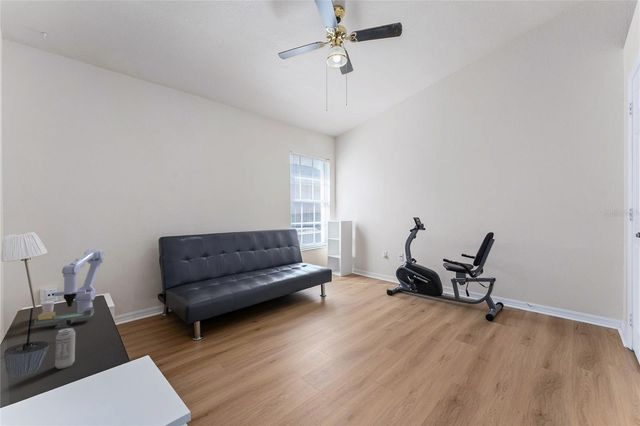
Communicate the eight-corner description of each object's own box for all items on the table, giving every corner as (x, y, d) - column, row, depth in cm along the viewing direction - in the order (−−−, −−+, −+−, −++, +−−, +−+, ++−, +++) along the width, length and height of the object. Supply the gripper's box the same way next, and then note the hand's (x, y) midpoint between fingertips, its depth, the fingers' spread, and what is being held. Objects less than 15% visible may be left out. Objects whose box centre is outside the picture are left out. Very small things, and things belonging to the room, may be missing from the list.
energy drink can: (78, 361, 118) (79, 327, 118) (65, 369, 112) (66, 332, 112) (64, 362, 117) (65, 327, 118) (50, 369, 111) (52, 333, 112)
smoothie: (38, 318, 174) (39, 296, 175) (52, 315, 180) (52, 294, 180) (42, 319, 171) (43, 297, 172) (56, 316, 177) (56, 295, 177)
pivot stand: (62, 322, 166) (62, 314, 167) (75, 320, 169) (75, 312, 169) (55, 328, 156) (55, 320, 156) (68, 326, 159) (68, 318, 159)
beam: (40, 320, 161) (40, 313, 161) (94, 313, 173) (94, 306, 173) (33, 325, 153) (34, 317, 153) (90, 317, 165) (90, 310, 165)
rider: (41, 318, 159) (41, 313, 159) (55, 317, 162) (55, 311, 162) (38, 321, 155) (38, 315, 155) (52, 319, 158) (52, 313, 158)
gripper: (52, 287, 160) (51, 310, 159) (83, 284, 167) (83, 306, 166) (56, 284, 166) (56, 306, 165) (87, 282, 173) (86, 303, 172)
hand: (69, 306), depth 166 cm, fingers closed
